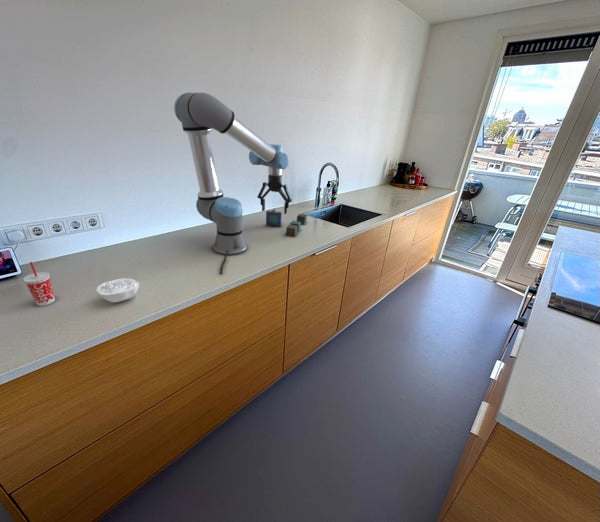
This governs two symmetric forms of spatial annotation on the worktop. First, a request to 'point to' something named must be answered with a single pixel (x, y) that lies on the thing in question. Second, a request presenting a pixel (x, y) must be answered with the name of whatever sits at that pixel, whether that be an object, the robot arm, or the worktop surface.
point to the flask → (273, 218)
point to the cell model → (118, 289)
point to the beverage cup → (40, 287)
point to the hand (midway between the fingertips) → (274, 212)
